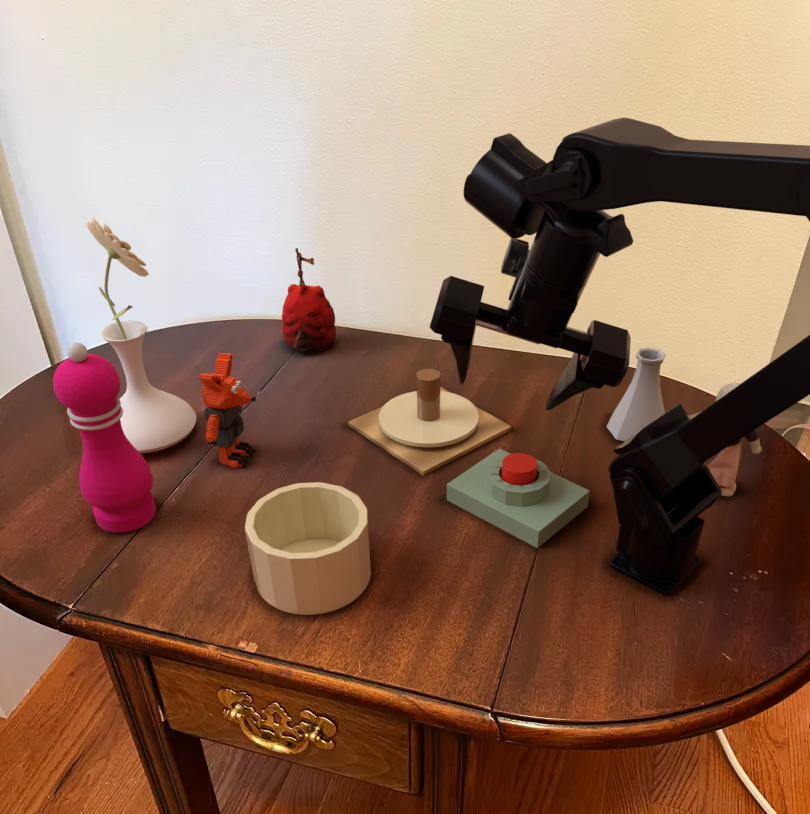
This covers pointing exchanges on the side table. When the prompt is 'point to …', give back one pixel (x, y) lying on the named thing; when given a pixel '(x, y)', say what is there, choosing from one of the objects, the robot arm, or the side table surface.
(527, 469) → the release button
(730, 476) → the grandmother figurine
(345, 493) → the jar
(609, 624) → the side table surface
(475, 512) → the button base
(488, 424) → the wooden board
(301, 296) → the red clay folk toy
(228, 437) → the toy animal
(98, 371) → the pepper mill
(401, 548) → the side table surface
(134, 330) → the flower in vase
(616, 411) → the flask
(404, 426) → the jar lid
